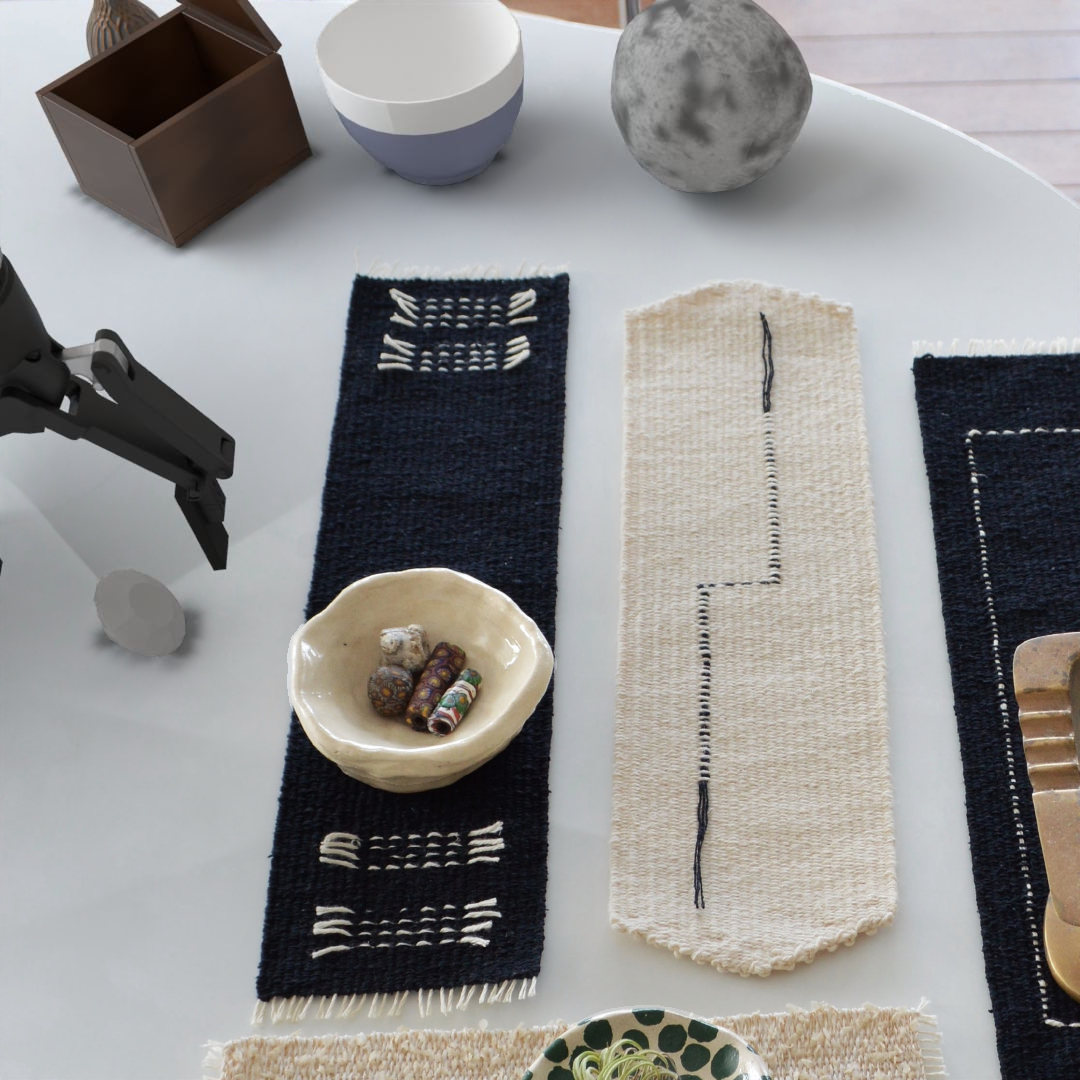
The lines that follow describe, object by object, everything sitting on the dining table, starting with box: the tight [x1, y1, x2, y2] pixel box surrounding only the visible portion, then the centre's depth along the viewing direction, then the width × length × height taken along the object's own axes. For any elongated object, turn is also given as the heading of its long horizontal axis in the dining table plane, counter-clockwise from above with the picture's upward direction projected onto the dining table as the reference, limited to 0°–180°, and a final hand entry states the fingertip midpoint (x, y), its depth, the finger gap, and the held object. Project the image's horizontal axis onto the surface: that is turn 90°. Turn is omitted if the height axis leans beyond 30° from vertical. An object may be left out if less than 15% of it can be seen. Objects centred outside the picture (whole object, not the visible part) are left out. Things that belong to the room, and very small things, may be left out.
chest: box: [34, 3, 313, 248], centre depth 115 cm, size 15×12×9 cm
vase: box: [85, 0, 161, 60], centre depth 121 cm, size 7×7×9 cm
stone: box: [610, 0, 814, 194], centre depth 111 cm, size 15×16×15 cm
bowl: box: [314, 0, 525, 186], centre depth 116 cm, size 16×16×10 cm
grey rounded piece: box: [93, 568, 187, 658], centre depth 92 cm, size 6×6×5 cm
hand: (108, 566), depth 88 cm, fingers open, 13 cm apart
